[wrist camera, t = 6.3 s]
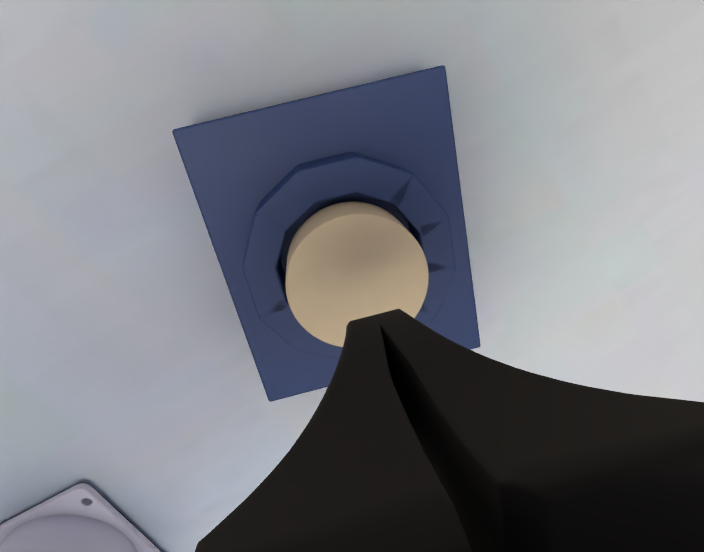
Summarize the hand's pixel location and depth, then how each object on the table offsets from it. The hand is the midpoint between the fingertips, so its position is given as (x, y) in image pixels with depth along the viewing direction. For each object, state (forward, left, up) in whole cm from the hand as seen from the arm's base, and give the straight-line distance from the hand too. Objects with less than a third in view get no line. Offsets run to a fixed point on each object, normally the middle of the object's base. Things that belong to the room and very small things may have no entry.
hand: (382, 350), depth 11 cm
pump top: (0, 0, -6) cm, 6 cm away
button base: (0, 0, -10) cm, 10 cm away
